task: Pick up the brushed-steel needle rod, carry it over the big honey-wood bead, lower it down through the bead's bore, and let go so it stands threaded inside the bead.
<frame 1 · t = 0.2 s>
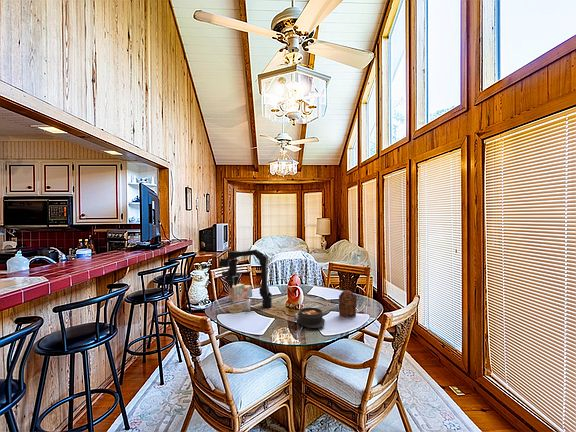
hand: (233, 287, 243), 14 cm above the table, fingers open, 9 cm apart
casserole: (310, 323, 202), on the table
steel needle: (248, 311, 228), on the table
wooden bead: (235, 310, 230), on the table
wooden figurine: (347, 316, 216), on the table
stack of blocks: (240, 299, 262), on the table
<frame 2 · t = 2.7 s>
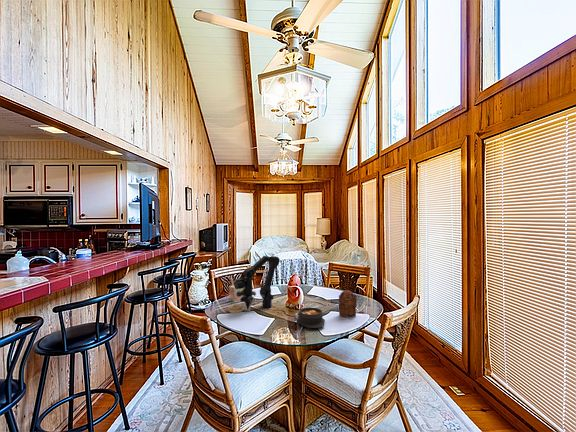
hand: (248, 308, 228), 3 cm above the table, fingers closed on steel needle, 3 cm apart
steel needle: (248, 311, 228), on the table, touching gripper
everything else where it was.
when the fingers open (5 cm above the table, at t = 6.4 s): steel needle drops 2 cm, resting in wooden bead.
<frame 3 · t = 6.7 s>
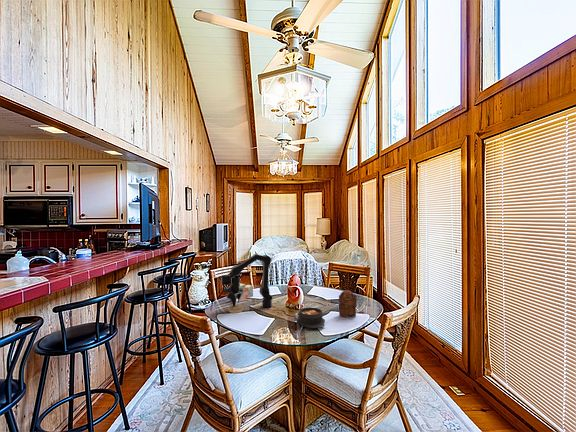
hand: (235, 304, 230), 5 cm above the table, fingers open, 6 cm apart
steel needle: (235, 310, 230), resting in wooden bead
everything else where it was.
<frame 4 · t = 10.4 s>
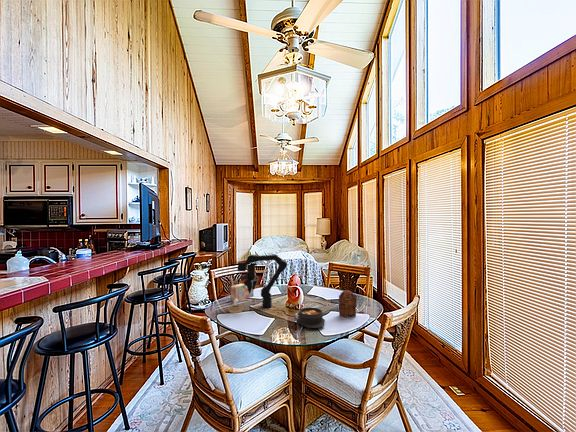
hand: (251, 291, 239), 12 cm above the table, fingers open, 9 cm apart
at the end: steel needle 0.0 cm from the wooden bead (horizontally); steel needle resting in wooden bead; the gripper is holding nothing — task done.
